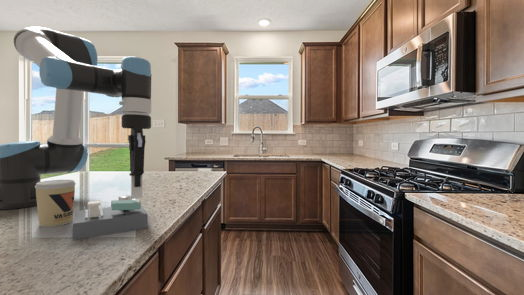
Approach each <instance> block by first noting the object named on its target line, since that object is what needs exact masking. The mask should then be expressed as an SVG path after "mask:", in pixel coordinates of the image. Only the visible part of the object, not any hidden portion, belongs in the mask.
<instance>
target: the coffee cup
mask: <svg viewBox="0 0 524 295" xmlns="http://www.w3.org/2000/svg"><path fill="white" fill-rule="evenodd" d="M35 188H36V199H37V205H36V206H37V208H36V210H37V215H38V216H37V217H38V225H39V227H40V228H41V227H42V228H53V227H60V226H64V224H65V225H67V224H70V223H73V219H74V207H75V206H74V205H75V193H76V192H75V191H76V182H75V180H74V179H53V180H43V181H41V182H38V183H36V186H35Z"/></svg>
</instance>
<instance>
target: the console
mask: <svg viewBox="0 0 524 295" xmlns="http://www.w3.org/2000/svg"><path fill="white" fill-rule="evenodd" d="M148 214H149V213H148V212H147V211H146V209H145V208H144V207H143V206H142V205H141V209H136V210H112V209H111V206H109V207H99V217H91V218H90V209H85V210H75V211H74V213H73V220H72V240H73V241H75V240H79V239H86V238H92V237H98V236H106V235H111V234H118V233H124V232H125V233H126V232H129V231H136V230H137V231H138V230H141V229H142V230H143V229H148V225H149V224H148V221H149V220H148V219H149V218H148Z"/></svg>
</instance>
